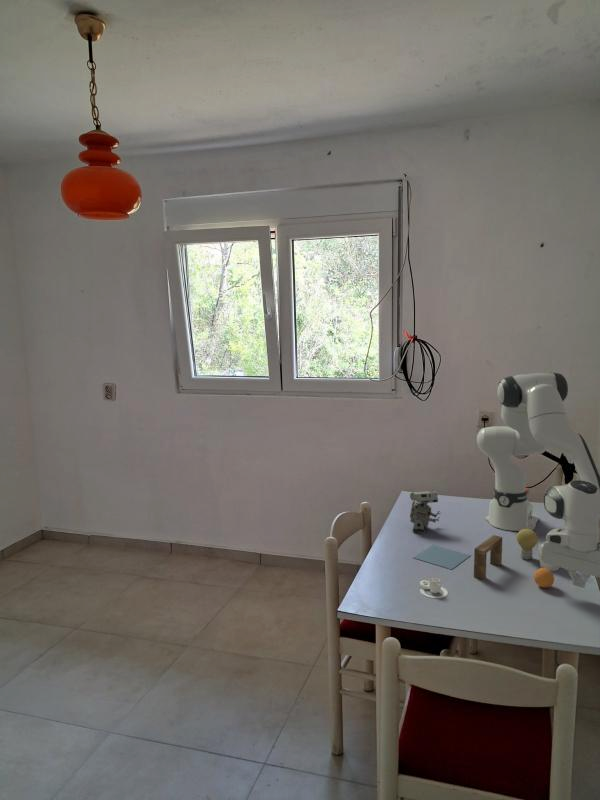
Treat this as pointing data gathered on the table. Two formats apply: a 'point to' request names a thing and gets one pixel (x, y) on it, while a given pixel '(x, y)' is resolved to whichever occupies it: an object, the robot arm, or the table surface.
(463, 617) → the table surface
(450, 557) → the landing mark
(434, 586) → the mug and donut ornament
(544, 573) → the ball
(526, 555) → the light bulb
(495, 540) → the bridge
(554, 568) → the white cylinder
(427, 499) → the figurine
